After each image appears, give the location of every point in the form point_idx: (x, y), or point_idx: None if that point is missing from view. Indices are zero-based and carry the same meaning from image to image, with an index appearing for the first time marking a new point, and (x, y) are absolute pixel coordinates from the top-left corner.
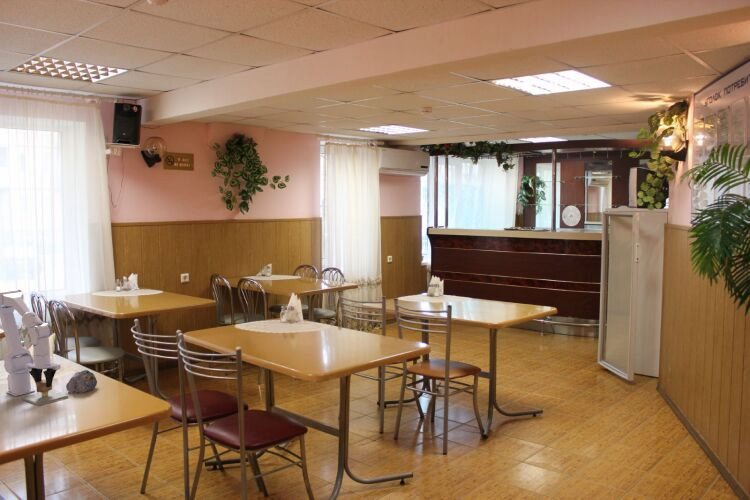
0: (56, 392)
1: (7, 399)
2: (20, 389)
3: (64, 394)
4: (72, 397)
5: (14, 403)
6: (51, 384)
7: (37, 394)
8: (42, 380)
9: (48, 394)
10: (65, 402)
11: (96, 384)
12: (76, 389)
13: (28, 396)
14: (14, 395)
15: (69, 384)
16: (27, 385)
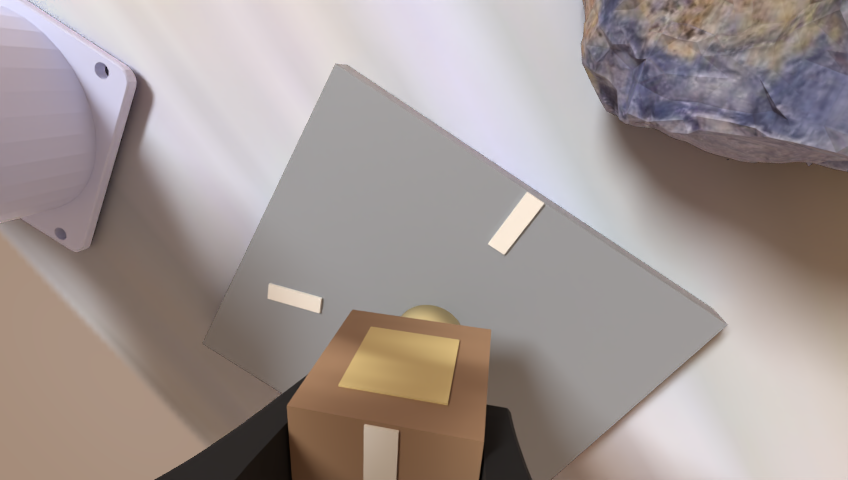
0: (492, 204)
1: (91, 319)
2: (28, 209)
3: (656, 289)
4: (771, 299)
5: (238, 420)
6: (511, 432)
7: (299, 273)
8: (321, 454)
9: (433, 281)
10: (747, 451)
11: None
12: (827, 164)
13: (253, 332)
14: (64, 241)
15: (709, 135)
16: (14, 146)
